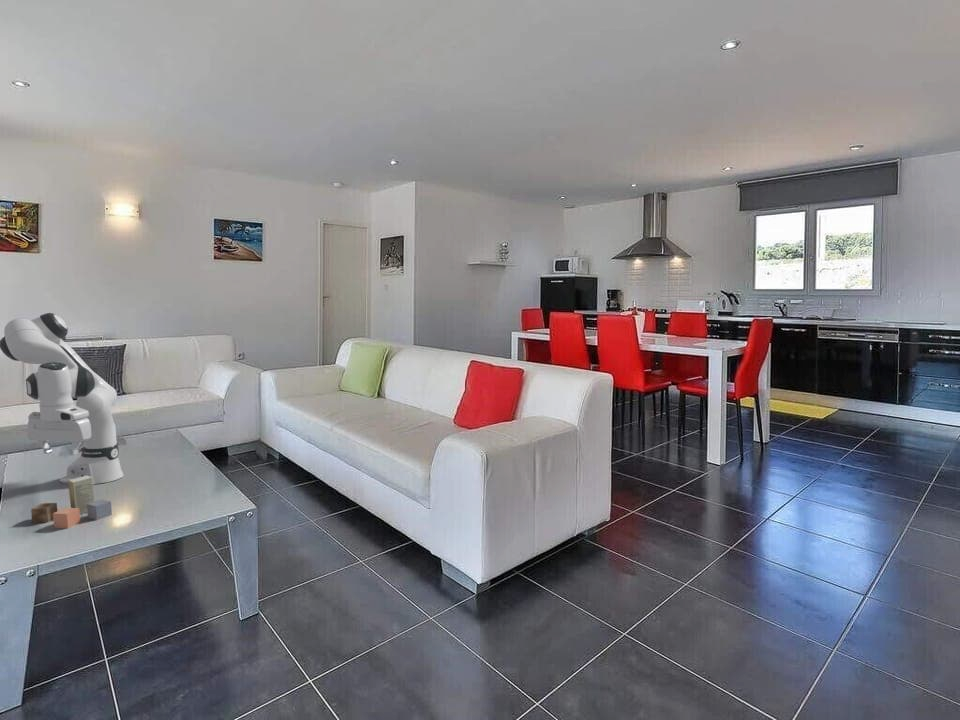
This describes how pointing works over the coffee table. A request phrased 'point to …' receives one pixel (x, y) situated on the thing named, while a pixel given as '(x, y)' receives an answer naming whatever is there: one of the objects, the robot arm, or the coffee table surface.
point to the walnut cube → (43, 512)
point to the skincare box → (81, 492)
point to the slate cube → (99, 509)
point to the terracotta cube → (66, 517)
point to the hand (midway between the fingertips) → (60, 453)
